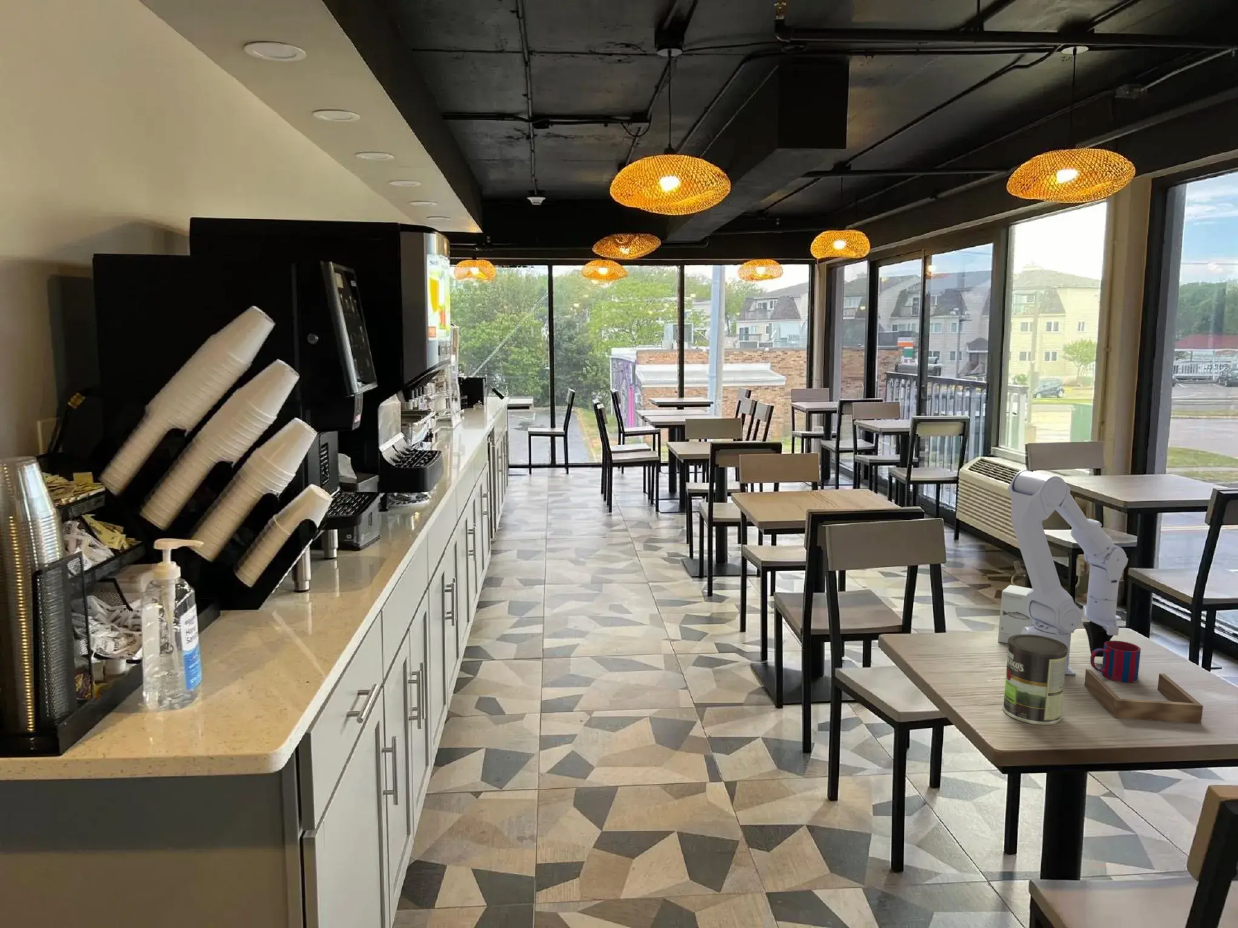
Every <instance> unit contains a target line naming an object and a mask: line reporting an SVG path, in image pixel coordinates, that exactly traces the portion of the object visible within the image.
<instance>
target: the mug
mask: <svg viewBox="0 0 1238 928" xmlns="http://www.w3.org/2000/svg"><path fill="white" fill-rule="evenodd" d="M1100 651H1103V657H1102V664H1101V668H1099V667H1097V666H1096V664H1095V663H1096V662H1095V658H1096V657H1095V655H1096V654H1097V653H1098V652H1100ZM1141 651H1142V649H1141V647H1140V646H1138V645H1137V644H1134V643H1131V642H1127V641H1122V640H1110V641H1106V642H1105V643H1104V649H1100V648H1098V649H1095V650H1094V651H1093V652H1092V654H1091V653H1090V657H1089V659H1090V665H1091V666H1092V669H1094V670H1095V671H1097V672H1099V673H1101V675H1102V677H1104V678H1106V679H1109V680H1110V681H1114V682H1119V683H1127V684H1128V683H1129V684H1130V683H1135V682H1137V681H1138V679H1139V673H1140V672H1139V670H1140V661H1141Z"/></svg>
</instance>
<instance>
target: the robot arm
mask: <svg viewBox="0 0 1238 928" xmlns="http://www.w3.org/2000/svg"><path fill="white" fill-rule="evenodd" d="M1007 491H1008V493H1009V496H1010V498H1011V506H1010V507H1011V508H1010V510H1011V511H1010V512H1011V513H1010V521H1011V525H1012V527H1013V532H1014V534H1015V537H1016V541H1017V544H1018V547H1019V550H1020V553H1021V556H1022V559H1023V562H1024V566H1025V568H1026V571H1027V575H1028V579H1029V581H1030V584H1031V590H1030V591H1029V592H1028V594H1027V599H1028V607H1027V610H1028V614H1029V616H1030V617H1031V618H1032V624H1034V626H1031V627H1023V629H1022V632H1021V634H1030V635H1039V636H1044V637H1049V638H1052V639H1055V640H1058V641H1060V642H1062V643H1064V644H1065V645H1066V646H1067V647H1068V652H1067V656H1066V667H1065V675H1073V676H1074V675H1076V671H1074V670H1073V668H1071V666H1070V663H1069V662H1070V652H1071V651H1070V650H1071V641H1072V640H1071V639H1072V634H1074V633H1075V631H1076V630H1077V629H1078V628H1079V626H1080V625H1081V622H1082V617H1083V616H1082V615H1084V618H1085V620H1087V621H1083V622H1082V625H1083V628H1084V630H1085V632H1086V635H1087V640H1088V647H1089V650H1090V651H1089V652H1090V655H1091V654H1092V652H1093V651H1094V650H1095V649H1098V648H1100V649H1104V643H1105V642H1106V641H1112V640H1111V639H1112V638H1113V637H1114V636H1117V637H1118V636H1119V630H1120V629H1119V628H1120V627H1119V626H1118V622H1121V621H1122V617H1121V616H1120V615H1117V604H1118V596H1119V595H1118V594H1119V593H1118V592H1119V583H1120V580H1121V578H1122V577H1123V571H1124V570H1125V568H1126V567H1127V565H1128V561H1129V558H1128V557H1127V554H1126V552H1125V550H1124V549H1123V548H1122V547H1121V546H1119V545H1115V543H1114V542H1113V538H1112V537H1110V536H1109V535H1108V534H1106V532H1105V530H1104V529H1103V528H1102V526H1103V525H1102V523H1101V522H1100V521H1098V520H1095V519H1093V518H1087V517H1086V515H1085V514H1084V512H1083V511H1082V508H1081V507H1080V506H1079V504H1078V503H1077V502H1076V500H1075V499H1074V497H1073V496H1072V494H1071V487H1070V486H1069V485H1068V484H1067V483H1066V481H1065V480H1064V479H1063V478H1062V477H1061V476H1058V475H1049V474H1044V473H1039V472H1034V471H1031V470H1030V469H1022V470H1020V471H1018V472H1017V473H1016V474H1015V475H1014V476H1013V478H1012V480H1011V481H1010V483H1009V486H1008V487H1007ZM1055 511H1056V512H1057V513H1058V514H1059V515H1060V516H1061V517H1062V519H1064V521H1065V522H1066V523H1067V524H1068V525H1069V526H1070V527H1071V529H1070V536H1071V537H1072V538H1073V540H1074V541H1075V542H1076V543H1077V545H1078V546H1079V547H1080V549H1082V551H1083V558H1084V559H1083V560H1084V562H1085V563H1087V564H1088V565H1089V576H1088V583H1087V584H1088V585H1087V587H1088V588H1087V598H1086V605H1083V607H1082V611H1081V609H1080V607H1079V606H1077V604H1076V603H1075V601H1074V598H1073V596H1071V595H1070V593H1069V592H1067V591H1066V589H1065V588H1064V587H1063V586H1062V585H1061V581H1060V578H1059V575H1058V572H1057V567H1056V565H1055V562H1054V559H1053V558H1054V557H1053V556H1052V552H1051V549H1050V546H1049V542H1048V539H1047V536H1046V532H1045V530H1044V527H1043V521H1046V520H1047V519H1048V518H1049V517H1050V516H1051V515H1052V514H1053V513H1054V512H1055ZM1096 657H1097V658H1099V657H1100V658H1103V651H1100V652H1098V653H1097V654H1096V655H1095V658H1096Z"/></svg>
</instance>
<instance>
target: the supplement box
mask: <svg viewBox="0 0 1238 928" xmlns="http://www.w3.org/2000/svg"><path fill="white" fill-rule="evenodd" d="M1031 589H1032V587H1031V588H1030V587H1025V586H1024V587H1023V586H1019V585H1013V584H1009V585H1008V586H1007V587H1006V588H1004V589H1003V590H1002V591H1001V599H1000V612H999V625H998V634H997V642H998V643H1003V644H1004V643H1005V644H1008V638H1009V637H1011V636H1014V635H1021V632H1022V629H1023V627H1031V626H1034V624H1032V618H1031V617H1030V616H1029V614H1028V610H1027V607H1028V599H1027V594H1028V592H1029V591H1030V590H1031Z"/></svg>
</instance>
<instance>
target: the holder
mask: <svg viewBox="0 0 1238 928" xmlns="http://www.w3.org/2000/svg"><path fill="white" fill-rule="evenodd" d="M1084 674H1085V675H1084V687H1085V688H1086V689H1088V691H1089V692H1090V693H1091V694H1092V695H1093V696H1094V697H1095V698H1096V700H1098V702H1100V704H1101V705H1102V706H1103V707H1104V708H1105V709H1106V710H1107V711H1108V712H1109V713H1110V714H1111V715H1112V717H1114V718H1115V719H1125V720H1126V719H1129V720H1142V721H1144V720H1145V721H1157V722H1172V723H1173V722H1174V723H1175V722H1176V723H1185V724H1186V723H1189V724H1191V723H1192V724H1202V717H1203V709H1204V706H1203V704H1201V703H1200V702H1199V701H1198V700H1197V699H1196V698H1195V697H1193V696H1192V695H1191V694H1190V693H1189V692H1188V691H1186V690H1184V689H1183V688H1182V687H1181V686H1180V685H1179V684H1178V683H1176V682H1175V681H1174V680H1173V679H1171V678H1170V677H1169V676H1168V675H1167V674H1165V673H1161V672H1160V673H1158V682H1157V691H1158V692H1160V693H1161V694H1162V696H1164V697H1165V698H1166V699H1167V700H1169V701H1165V700H1164V701H1162V700H1152V699H1150V700H1148V699H1133V698H1121V697H1119V695H1117V694H1116V693H1115V692H1114V691H1113V690H1112V689H1111V688H1110V687H1109V686H1108V685H1107V683H1105V682H1104V680H1102V679H1101V677H1099V675H1097V674H1096V673H1095V672H1094V671H1093V670H1092V669H1091V668H1090V669H1089V668H1087V669H1085V673H1084Z"/></svg>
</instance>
